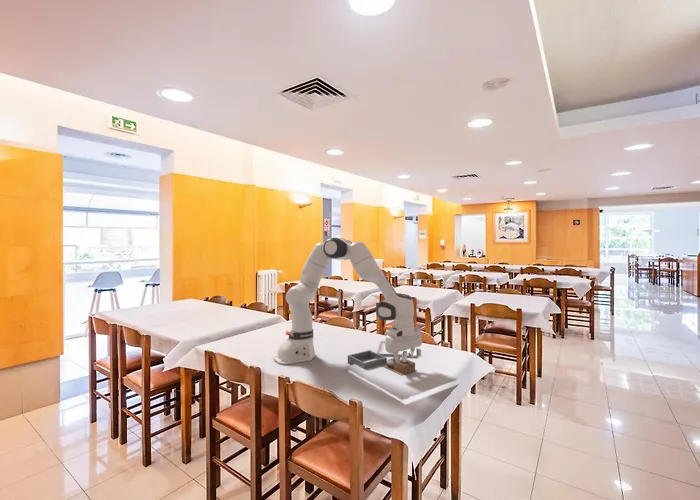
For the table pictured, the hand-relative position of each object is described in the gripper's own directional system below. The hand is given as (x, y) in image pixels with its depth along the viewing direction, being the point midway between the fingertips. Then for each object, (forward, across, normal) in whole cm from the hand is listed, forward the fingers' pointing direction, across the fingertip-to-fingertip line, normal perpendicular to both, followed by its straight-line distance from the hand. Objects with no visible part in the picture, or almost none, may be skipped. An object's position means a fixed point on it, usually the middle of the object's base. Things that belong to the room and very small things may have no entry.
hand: (404, 358), depth 156 cm
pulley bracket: (+7, 0, -4) cm, 8 cm away
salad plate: (+8, -17, -24) cm, 30 cm away
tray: (+7, +7, -20) cm, 22 cm away
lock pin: (+6, 0, 0) cm, 6 cm away
